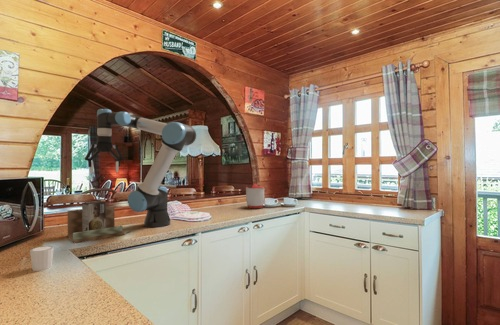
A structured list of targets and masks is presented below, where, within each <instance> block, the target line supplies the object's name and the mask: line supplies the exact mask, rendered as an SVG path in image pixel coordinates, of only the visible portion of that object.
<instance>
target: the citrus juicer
mask: <svg viewBox="0 0 500 325" xmlns="http://www.w3.org/2000/svg"><path fill="white" fill-rule="evenodd" d="M245 199H246V200H245V201H246V205H247V207H248V208H249V209H253V210H257V209H262V208H263V207H264V204H265V186H259V185H258V184H257V183H254V184H252V186H251V187H248V186H245Z"/></svg>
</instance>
